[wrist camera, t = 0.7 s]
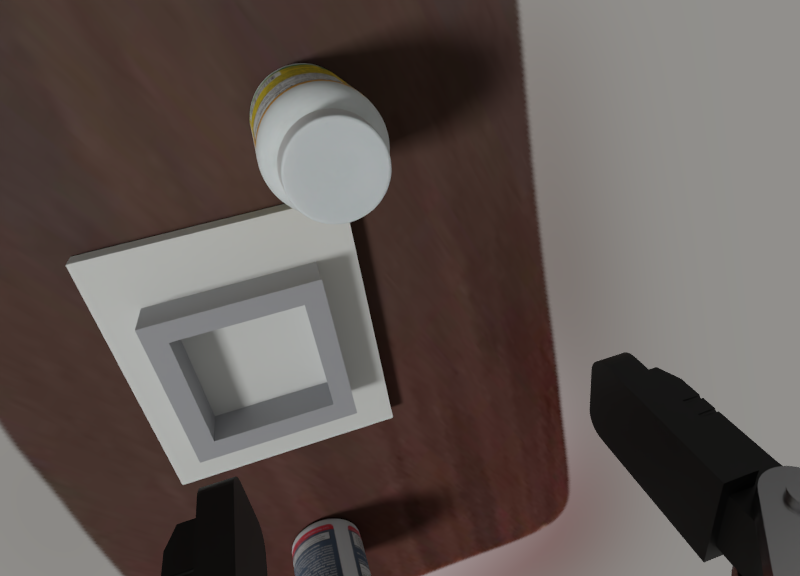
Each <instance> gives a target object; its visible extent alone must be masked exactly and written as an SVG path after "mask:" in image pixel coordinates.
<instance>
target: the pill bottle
mask: <svg viewBox="0 0 800 576" xmlns="http://www.w3.org/2000/svg"><path fill="white" fill-rule="evenodd" d="M292 555H293V564H294V572H295V576H371V574H370V570H369V566H368V562H367V559H366V555H365V551H364V547H363V543H362V539H361V536H360V533H359V530H358V529H357V527H356V526H355V525H354V524H353V523H351V522H349V521H347V520H343V519H325V520H321V521H318V522H315V523H313V524H311V525H310V526H308V527H306V528H305V529H304V530H303V531H301V532H300V534H299V535H298V536H297V537H296V539H295V541H294V543H293V547H292Z"/></svg>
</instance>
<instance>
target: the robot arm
mask: <svg viewBox="0 0 800 576" xmlns="http://www.w3.org/2000/svg"><path fill="white" fill-rule="evenodd" d="M590 416H591V420H592V423H593V426H594V428H595V430H596V432H597V433H598V435H599V436H600V438H601V439H602V440H603V441H604V443H605V444H606V445H607V446H608V448H609V449H610V450H611V451H612V452H613V453H614V455H615V456H616V457H617V458H618V460H619V461H620V462H621V463H622V464H623V466H624V467H625V468H626V469H627V470H628V472H629V473H630V474H631V475H632V476H633V478H634V479H635V480H636V481H637V482H638V484H639V485H640V486H641V487H642V488H643V490H644V491H645V492H646V493H647V494H648V495H649V497H650V498H651V499H652V500H653V502H654V503H655V504H656V505H657V506H658V508H659V509H660V510H661V511H662V512H663V514H664V515H665V516H666V517H667V518H668V520H669V521H670V522H671V523H672V524H673V526H674V527H675V528H676V529H677V531H678V532H679V533H680V534H681V535H682V537H684V539H685V540H686V541H687V543H688V544H689V545H690V546H691V547H692V549H693V550H694V551H695V552H696V553H697V555H698V556H699V557H700V558H701V559H702V561H703V562H706V561H708V560H711V559H713V558H716V557H718V556H721V555H724V556H725V557H726V558H727V559H728V560H729V562H730V563H731V564H732V565H733V567H732V576H800V468H799V467H792V466H782V465H781V464H779V463H778V462H777V461H775V460H774V459H773V458H772V457H771V456H770V455H768V454H767V453H766V452H765V451H764V450H763V449H761V448H760V447H759V446H758V445H757V444H756V443H755V442H753V441H752V440H751V439H750V438H749V437H748V436H747V435H745V434H744V433H743V432H742V431H741V430H740V429H738V428H737V427H736V426H735V425H734V424H732V423H731V422H730V421H729V420H728V419H727V418H726V417H725V416H723V415H722V414H721V413H720V412H716V411H715V408H714V407H713V406H712V405H711V404H709V403H708V402H707V401H706V400H705V399H704V398H702V399H701V398H700V396H699V394H698V393H697V392H696V391H694V390H693V389H692V388H691V387H690V386H688V385H687V384H686V383H685V382H684V381H683V380H682V379H680V378H678V377H676V376H674V375H671V374H670V373H668V372H665V371H663V370H661V369H659V368H653V369H650V370H648V369H647V368H646V367H645V366H644V365H643V364H642V363H641V362H640V361H639V360H637V359H636V358H635V357H634V356H633V355H631V354H630V353H622V354H619V355H616V356H612V357H609V358H606V359H603V360H600V361H597V362H595V363H594V364H593V366H592V375H591V395H590ZM161 576H267V564H266V552H265V545H264V539H263V535H262V531H261V527H260V524H259V522H258V519H257V517H256V515H255V513H254V511H253V508H252V506H251V504H250V502H249V500H248V497H247V495H246V493H245V491H244V489H243V487H242V484H241V482H240V480H239V479H238V477H233V478H230V479H227V480H224V481H221V482H217V483H214V484H211V485H208V486H205V487H202V488H199V490H198V493H197V508H196V518H195V519H192V520H189V521H186V522H183V523H180V524H177V525H176V527H175V529H174V532H173V534H172V536H171V538H170V540H169V542H168V544H167V546H166V548H165V550H164V553H163V563H162V573H161Z"/></svg>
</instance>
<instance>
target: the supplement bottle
mask: <svg viewBox="0 0 800 576" xmlns="http://www.w3.org/2000/svg"><path fill="white" fill-rule="evenodd" d="M250 126H251V131H252V136H253V141H254V146H255V150H256V157H257V161H258V165H259V169H260V172H261V174H262V176H263V178H264V180H265V182H266V184H267V185H268V187H269V188H270V190H271V191H272V192H273V193H274V194H275V195H276V196H277V197H278V198H279V199H280V200H281V201H282V202H284V203H285V204H286V205H288V206H290V207H291V208H293V209H295V210H297V211H299V212H301V213H302V214H304V215H305V216H307V217H308V218H310V219H312V220H314V221H317V222H321V223H326V224H345V223H350V222H353V221H356V220H358V219H360V218H362V217H364V216H365V215H367V214H368V213H370V212H371V211H372V210H373V209H374V208H375V207H376V206H377V205H378V204H379V203H380V202H381V200H382V199H383V197H384V195H385V193H386V191H387V189H388V186H389V183H390V179H391V159H390V145H389V136H388V132H387V129H386V126H385V123H384V121H383V119H382V117H381V115H380V114H379V112H378V111H377V109H376V108H375V107H374V105H373V104H372V103H371V102H370V101H369V100H368V99H367V98H366V97H365V96H364V95H363V94H362V93H360V92H358V91H357V90H356V89H354V88H353V87H351V86H350V85H349V84H347V83H346V82H345V81H343V80H342V79H341V78H339V77H338V76H336V75H335V74H333V73H332V72H330V71H329V70H327V69H325V68H323V67H320V66H317V65H314V64H307V63H297V64H291V65H287V66H284V67H282V68H279V69H277V70H276V71H274V72H272V73H271V74H270V75H269V76H267V77H266V78H265V79H264V80H263V82H262V83H261V84H260V85H259V87H258V89H257V90H256V92H255V94H254V97H253V100H252V103H251V108H250Z"/></svg>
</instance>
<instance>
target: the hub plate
mask: <svg viewBox="0 0 800 576" xmlns="http://www.w3.org/2000/svg"><path fill="white" fill-rule="evenodd" d="M66 267H67V269H68V271H69V273H70V274H71V276H72V278H73V280H74V282H75V284H76V286H77V288H78V289H79V291H80V293H81V295H82V297H83V299H84V301H85V303H86V304H87V306H88V308H89V310H90V312H91V314H92V316H93V318H94V320H95V321H96V323H97V325H98V327H99V329H100V331H101V333H102V335H103V336H104V338H105V340H106V342H107V344H108V346H109V348H110V350H111V351H112V353H113V355H114V357H115V359H116V361H117V363H118V365H119V366H120V368H121V370H122V372H123V374H124V376H125V378H126V380H127V382H128V383H129V385H130V387H131V389H132V391H133V393H134V395H135V397H136V398H137V400H138V402H139V404H140V406H141V408H142V410H143V412H144V413H145V415H146V417H147V419H148V421H149V423H150V425H151V427H152V429H153V430H154V432H155V434H156V436H157V438H158V440H159V442H160V444H161V445H162V447H163V449H164V451H165V453H166V455H167V457H168V459H169V460H170V462H171V464H172V466H173V468H174V470H175V472H176V474H177V475H178V477H179V479H180V481H181V483H182V485H185V484H188V483H191V482H194V481H197V480H200V479H203V478H206V477H209V476H213V475H216V474H219V473H222V472H225V471H228V470H231V469H234V468H237V467H241V466H244V465H247V464H250V463H253V462H256V461H259V460H262V459H265V458H268V457H272V456H275V455H278V454H281V453H284V452H287V451H290V450H293V449H296V448H300V447H303V446H306V445H309V444H312V443H315V442H318V441H321V440H324V439H328V438H331V437H334V436H337V435H340V434H343V433H346V432H349V431H352V430H356V429H359V428H362V427H365V426H368V425H371V424H374V423H377V422H380V421H384V420H387V419H390V418H393V416H392V411H391V407H390V402H389V398H388V393H387V389H386V384H385V380H384V375H383V370H382V366H381V361H380V357H379V352H378V348H377V343H376V339H375V334H374V330H373V325H372V321H371V316H370V312H369V307H368V303H367V298H366V294H365V289H364V285H363V280H362V276H361V271H360V267H359V262H358V258H357V253H356V249H355V244H354V239H353V235H352V230H351V226H350V223H345V224H326V223H321V222H317V221H314V220H312V219H310V218H308V217H307V216H305V215H304V214H302V213H301V212H299V211H297V210H295V209H293V208H291V207H290V206H288V205H286V204H282V205H278V206H274V207H270V208H266V209H262V210H258V211H254V212H250V213H245V214H241V215H237V216H233V217H229V218H225V219H221V220H217V221H213V222H209V223H205V224H201V225H197V226H193V227H189V228H185V229H181V230H177V231H173V232H169V233H165V234H161V235H156V236H152V237H148V238H144V239H140V240H136V241H132V242H128V243H124V244H120V245H116V246H112V247H108V248H104V249H100V250H96V251H92V252H88V253H84V254H80V255H76V256H72V257H70V258H69V260H68V262H67V263H66Z"/></svg>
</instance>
